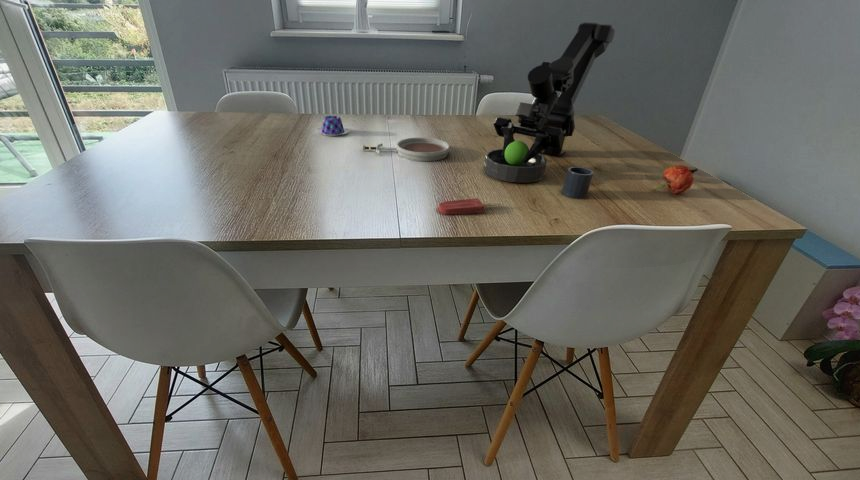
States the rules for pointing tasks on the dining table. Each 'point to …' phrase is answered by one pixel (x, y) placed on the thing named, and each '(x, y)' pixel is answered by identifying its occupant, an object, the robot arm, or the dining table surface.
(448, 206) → the popsicle
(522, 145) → the ball
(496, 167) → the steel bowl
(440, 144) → the frying pan
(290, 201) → the dining table surface
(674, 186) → the red rounded piece
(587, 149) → the dining table surface
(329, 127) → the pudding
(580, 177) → the stand cup
